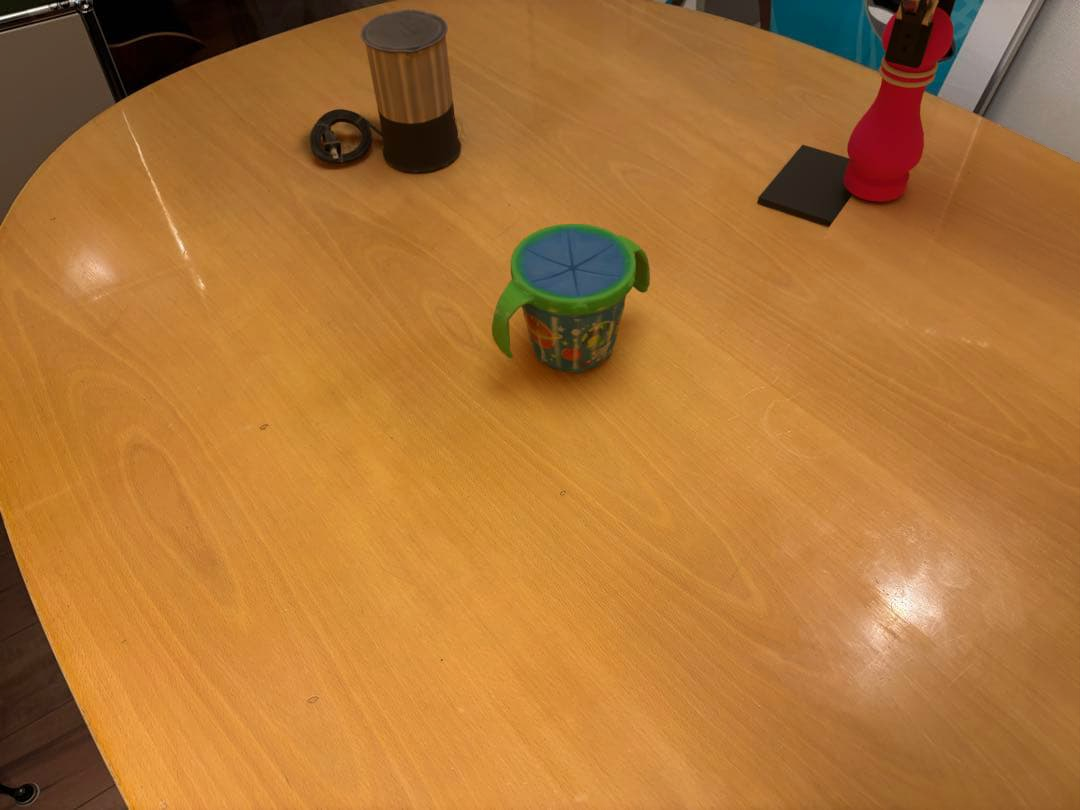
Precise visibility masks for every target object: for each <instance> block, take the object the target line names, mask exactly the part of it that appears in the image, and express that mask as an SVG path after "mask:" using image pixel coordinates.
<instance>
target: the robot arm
mask: <svg viewBox="0 0 1080 810" xmlns="http://www.w3.org/2000/svg"><path fill="white" fill-rule="evenodd" d="M938 1H939V2H938ZM956 1H957V0H929V3H928V6H927V0H901V1H900V4H899V6H898V9H897V11H898V12H897V11H896V12H897V15H896V17H895V21H894V25H893V28H892V32H891V36H890V39H889V43H888V47H887V51H886V53H885V54H884V55H885V60H886V61H887V62H891V63H895V64H899V65H903V66H907V67H911V68H919V67H920V65H921V64H922V62H923V58H924V55H925V52H926V49H927V45H928V42H929V39H930V36H931V32H932V29H933V26H934V22H931V19H932V17H933V14H934V11H935V9H936V7H939V8H940V9H942V10H944V11H945V12H946V13H947V14H948V16H949V17H950V18H951V16H952V14H953V11H954V7H955V3H956ZM937 3H938V4H937Z"/></svg>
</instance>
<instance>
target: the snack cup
mask: <svg viewBox="0 0 1080 810" xmlns="http://www.w3.org/2000/svg"><path fill="white" fill-rule="evenodd" d="M510 276H511V279H510V281H509V283H508V284H507V285H506V286H505V288H504V290H503V291H502V292H501V295H500V296H499V298H498V299H497V303H496V306H495V309H494V312H493V317H492V324H491V335H492V338H493V340H494V341H493V342H495V344H496V345H497V347H498V349H499V350H500V351H501V353H503V354H504V355H505V357H506V358H508V359H513V357H514V356H513V353H512V351H511V337H510V334H511V333H510V320H511V318H512V317H513V316H514V314H515V313H516V312H517V311H518V310H519V309H520V308H522V312H523V313H522V314H523V317H524V321H525V325H526V328H527V332H528V336H529V342H530V344H531V347H532V349H533V352H534V354H535V356H536V358H537V360H538V362H540V363H541V364H543V365H546V366H548V367H550V368H552V369H554V370H557V371H561V372H564V373H567V372H569V373H572V374H575V375H577V374H581V373H582V374H583V373H584V372H585V371H588V370H593V369H595V368H597V367H598V366H600V365H601V364H603V363H604V362H605V361H606V360H607V359H609V358H610V357H611V356H612V354H613V349H614V347H615V345H616V342H617V339H618V333H619V330H620V327H621V322H622V319H623V314H624V310H625V306H626V305H625V304H626V303H625V302H626V297H627V295H628V294H629V293H630V292H631V291H632V289H633V288H634V289H635V290H637V292H640V293H642V294H643V293H647V292H648V290H649V287H650V284H651V283H650V282H651V269H650V263H649V258H648V256H647V253H646V251H644V250H643V248H642V247H640V246H639V245H638V243H636V242H634V241H633V240H632V239H629V237H626V236H624V235H622V234H621V235H620V234H617V233H614V232H612V231H610V230H609V229H606V228H604V227H600V226H597V225H591V224H585V223H562V224H561V223H560V224H555V225H550V226H546V227H544V228H541V229H537V230H536V231H534V232H532V233H530V234H529V235H527V236H526V237H524V239H522V240H520V242H518V244H517V245H516V246H515V248H514V250H513V252H512V255H511V257H510Z"/></svg>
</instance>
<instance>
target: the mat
mask: <svg viewBox="0 0 1080 810" xmlns="http://www.w3.org/2000/svg"><path fill="white" fill-rule="evenodd" d="M850 161H851V160H850V158H849V157H846V156H843V155H839V154H837V153H833V152H829V151H826V150H822V149H819V148H816V147H812V146H809V145H805V144H802V145H801V146H800V147H798V149H797V150H796V152H795V153H794V154H793V155H792V157H791V158H790V159H789V160H788V161H787V163H786V164H784V165H783V166H782V168H781V169H780V171H779V172H778V173H777V175H776V176H775V177H774V178H773V179H772V180H771V182H770V183H769V184H768V185H767V186H766V188H765V189H764V190H763V191H762V193H760V194H759V196H758V197H757V204H758V205H762V206H765V207H768V208H771V209H773V210H777V211H780V212H783V213H786V214H789V215H792V216H794V217H797V218H801V219H804V220H807V221H810V222H813V223H816V224H818V225H822V226H825V227H828V228H830V227H831V225H832V224H833V223H834V222H835V220H836V219H837V217H838V216H839V214H840V213H841V211H842V210H843V209H844V208H845V206H846V204H847V203H848V202H849V200H850V199H851V198H852V196H853V194H852V193H851V192H850V191H849V190H847V188H846V187H845V184H844V176H845V172H846V168H847V165H848V163H849V162H850Z"/></svg>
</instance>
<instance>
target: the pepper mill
mask: <svg viewBox="0 0 1080 810" xmlns="http://www.w3.org/2000/svg"><path fill="white" fill-rule="evenodd" d="M938 2H939V1H938ZM928 3H929V0H927V6H928ZM937 4H938V3H937ZM897 12H898V10H897V11H896V12H895V13H894V14H892V16H891V17H890V18H889V20H888V21H887V22H886V24H885V27H884V28H883V33H882V37H881V44H882V48H883V51H884V52H885V54H886V51H887V47H888V43H889V39H890V36H891V32H892V28H893V25H894V21H895V17H896V15H897ZM931 22H934V26H933V29H932V32H931V36H930V39H929V42H928V45H927V49H926V52H925V55H924V58H923V62H922V64H921V65H920V67H919V68H911V67H907V66H903V65H899V64H895V63H891V62H887V61H886V60H885V54H884V55H883V57H882V58H881V65H880V66H879V68H878V73H879V77H881V82H880V86H879V89H878V92H877V95H876V97H875V99H874V101H873V103H872V104H871V106H870V107H869V108H868V109H867V110H866V112H865V113H864V114H863V115H862V117H861V118H860V119H859V120H858V122H857V123H856V125H855V126H854V128H853V130H852V131H851V134H850V136H849V139H848V142H847V145H846V152H847V157H848V158H850V160H851V161H850V162H849V163H848V165H847V168H846V172H845V176H844V184H845V187H846V188H847V190H849V191H850V192H851V193H852V194H853V195H854V196H855V197H857V198H859V199H861V200H865V201H870V202H878V203H879V202H880V203H882V202H883V203H884V202H891V201H893V200H896V199H899V198H900V197H901V196H902V195H904V193H905V192H906V189H907V186H908V183H909V180H910V171H912V170H913V169H914V168H916V166H918V165H919V163H920V161H921V160H922V157H923V152H924V148H925V133H924V127H923V123H922V117H921V116H922V115H921V108H922V107H921V105H922V101H923V97H924V93H925V91H926V88H927V86H928V85H929V84H931V83H933V82H934V80H935V78H936V72H937V71H938V69H939V63H938V61H940V60H941V59H943V58H944V57H945V56H946V55H947V53H948V52H949V51H950V48H951V46H952V44H953V39H954V32H955V31H954V23H953V20H952V18H951V17H949V16H948V14H947V13H946V12H945V11H944V10H942V9H940V8H939V7H936V9H935V11H934V14H933V17H932V19H931ZM853 195H852V196H853Z"/></svg>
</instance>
